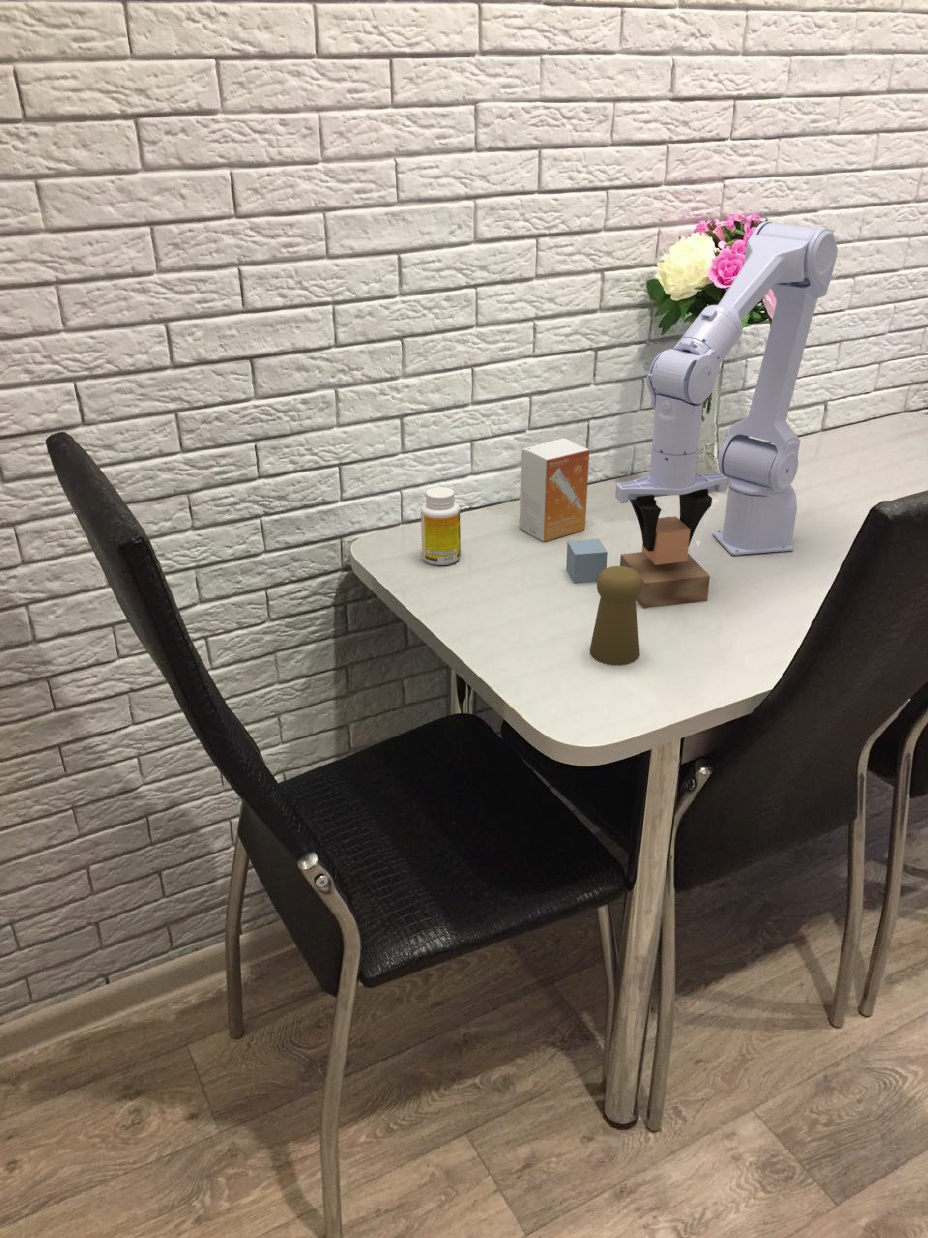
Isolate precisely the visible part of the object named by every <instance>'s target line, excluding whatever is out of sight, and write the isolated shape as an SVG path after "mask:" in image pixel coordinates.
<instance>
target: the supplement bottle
mask: <svg viewBox="0 0 928 1238" xmlns="http://www.w3.org/2000/svg"><path fill="white" fill-rule="evenodd" d="M455 500H456V499H455V491H454V490H453V489H452V488H450V487H445V486H440V487H439V486H438V487H432V488H430V489H428V490H427V491H426V492H425V502H424V503H423V504H422V505H421V507H420V521H421V522H420V523H421V524H420V525H421V553H422V558H423V560H424V561H425V562H426V563H429V564H431V565H435V566H436V565H437V566H446V565H451V564H454V563H457V561H459V560H460V559H461V555H462V551H461V549H462V547H461V546H462V541H461V535H462V533H461V531H462V530H461V507H460V504H458V502H456V501H455Z"/></svg>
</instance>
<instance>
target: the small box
mask: <svg viewBox="0 0 928 1238" xmlns="http://www.w3.org/2000/svg"><path fill="white" fill-rule="evenodd" d="M520 451H521V453H520V454H521V459H520V460H521V463H520V501H519V502H520V504H519V507H520V509H519V510H520V511H519V513H520V514H519V529H520V530H522V531H523V532H526V533H527V534H529V535H531V536H532V537H534V538H536V539H538V540H539V541H541V542H548V541H552V540H553V539H557V538H561V537H564V536H567V535H571V534H575V533H578V532H583V531H585V530H586V514H587V513H586V512H587V499H588V498H587V497H588V478H589V462H590V461H589V460H590V449H589V448H587V447H585V446H582V445H580V444H578V443H576V442H573V441H571V440H569V439H566V438H559V439H555V440H553V441H547V442H542V443H538V444H535V445H530V446H527V447H522V448H521V450H520Z"/></svg>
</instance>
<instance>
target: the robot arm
mask: <svg viewBox="0 0 928 1238" xmlns="http://www.w3.org/2000/svg"><path fill="white" fill-rule="evenodd" d="M838 251H839V249H838V245H837V240H836V237H835V235H834V232H833V230H832V229H831V228H828V227H821V228H818V227H810V226H808V227H807V226H800V225H799V226H798V225H791V224H783V223H782V224H781V223H773V222H772V221H767V220H766V221H761V223H759V224H758V225H757V227H756V228H755V229H754V230H753V232H752V233H751V236H750V237H749V239H748V240H747V242H746V247H745V255H744V257H745V258H744V261H745V262H744V264H743V265H742V266H741V268H740V270H739V272H738V273H737V275H736V276H735V277H734V280H733V281H732V283H730V285H729V287H728V289H727V290H726V292H725V294H724V295H723V297H722V298H721V299H720V301H719V302H718V304H710V305H708V306H705V307H704V308H703V310H701V312H700V313H699V315H698V316H697V318H695V319H694V321H693V323H692V324H691V325H690V326H689V328H688V329H687V330H686V332H685V333H684V334H683V335H682V337H681V338H680V339H679V340H678V341H677V343H676V344H675V346H674V347H673V349H672V348H668V349H666V350H664V351H663V352H660V353H658V354H657V355H656V356H655V357H654V359H653V360H652V363H651V364H650V368H649V373H648V375H647V376H646V386H647V389H648V392H649V393H650V397H651V398H650V406H651V409H653V411H654V417H653V431H652V442H651V443H652V444H651V454H650V455H651V456H650V467H649V475H648V476H647V475H646V476H644V477H639V478H637V479H632V480H629V481H625V482H620V483H619V482H618V483H616V484H615V494H614V495H615V496H614V497H615V499H616V500H617V501H618V502H619V503H620V504H624V503H625V504H626V503H628V502H630V504H631V505H632V508H633V511H634V512H635V515H636V518H637V521H638V525H639V528H640V534H641V535H640V536H641V540H642V541H641V542H642V543H643V547H644V548H645V549H646V550H647V551H649V552H650V551H653V550H654V545H655V536H656V527H657V522H658V518H660V514H661V511H662V508H661V507H659V506H658V504H657V500H656V499H655V498H660V497H668V496H678V499H679V520H681V521H682V522H683V523H684V524H685V525H686V526H687V527H688V528H689V529H690V538H689V546H690V545H691V543H692V540H693V537H694V534H695V532H696V530H697V527H698V525H699V523H700V522H701V520H702V518H703V516H705V515H706V513H707V511H708V510H710V509H709V508H711V507H712V504H713V497H712V496H710V495H709V492H714V491H715V492H717V493H724V492H726V490H727V496H726V505H725V512H724V513H725V514H724V520H723V521H724V522H723V529H717V530H713V531H712V535H713V537H715V539H716V540H717V541H719V543H720V544H721V545H722V546H723V547H724V548H725V550H727V552H728V553H729V554H730V555H732V556H739V555H740V556H741V555H752V554H763V553H764V554H766V553H778V552H789V551H793V550H794V546H793V545H792V542H793V537H794V530H795V523H796V517H797V511H798V509H797V508H798V501H797V495H796V492H795V489H794V488H793V486H792V485H791V484H792V483H793V481H794V479H795V477H796V476H797V472H798V467H799V450H800V445H801V439H800V438H799V437H798V435H797V434H796V433H795V431H794V430H793V429H792V427H790V426H789V424H788V422H787V418H788V415H789V409H790V406H791V401H792V400H793V399H792V398H793V394H794V390H795V386H796V383H797V380H798V376H799V372H800V368H801V367H800V366H801V365H802V360H803V357H804V352H805V349H806V345H807V340H808V336H809V333H810V329H811V325H812V322H813V317H814V314H815V309H816V305H817V301H818V299H819V298H822V297H824V296H826V295H827V293H828V290H829V286H830V283H831V281H832V276H833V272H834V268H835V265H836V261H837V258H838ZM770 290H771V291H772V293H773V296H774V297H775V300H776V302H775V303H776V304H775V306H774V307H775V308H774V311H773V316H772V319H771V323H770V328H769V332H768V336H767V340H766V343H765V347H764V351H763V355H762V361H761V365H760V368H759V372H758V376H757V380H756V383H755V387H754V393H753V395H752V401H751V405H750V408H749V412H748V416H746V417H745V418H743V419H741V420H739V421H737V422H735V423H734V424H732V425H730V426H729V430H728V433H727V436H726V439H725V441H724V443H723V444H722V445H721V448H720V449H719V453H718V456H717V458H718V459H717V460H718V461H717V465H718V470H719V472H710V473H709V472H697V462H698V453H699V443H700V433H701V423H702V421H701V420H702V413H703V404H704V403H703V402H705V401H706V400H707V398H709V397H710V396H711V394H712V392H713V389H714V387H715V383H716V380H717V377H718V375H719V374H720V370H721V363H722V362H723V361H724V360H725V358H726V357H727V355H728V354H729V353H730V351H731V350H732V349H733V348H734V346H735V345H736V344H737V342H738V341H739V340H740V338H741V336H742V335H743V325H742V321H743V320H744V319H745V317H746V316H747V315H748V314H749V313H750V312H751V311H752V310H753V309H754V307H756V305H757V304H758V303H759V302H760V301H761V300H762V299H763V298H764V296H766V294H768V292H769V291H770ZM761 440H762V441H761ZM766 441H767V442H766ZM727 486H728V488H727Z"/></svg>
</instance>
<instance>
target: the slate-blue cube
mask: <svg viewBox="0 0 928 1238" xmlns="http://www.w3.org/2000/svg"><path fill="white" fill-rule="evenodd" d="M566 542H567V543H566V544H567V545H566V568H565V571H566V572H567V573H568V576H569V578H570V579H571V581H572V582H573V585H575V584H576V585H577V584H578V585H579V584H590V583H597V579H598V576H599V575H600V573H601V572H602V571H603V570H604V569H606V568H608V557H609V556H608V553H609V552H608V550H607V548H606V547H605V545H604V544H603V543H602V541H601V539H600V538H590V539H589V538H588V539H578V540H577V539H575V540H567V541H566Z"/></svg>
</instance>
